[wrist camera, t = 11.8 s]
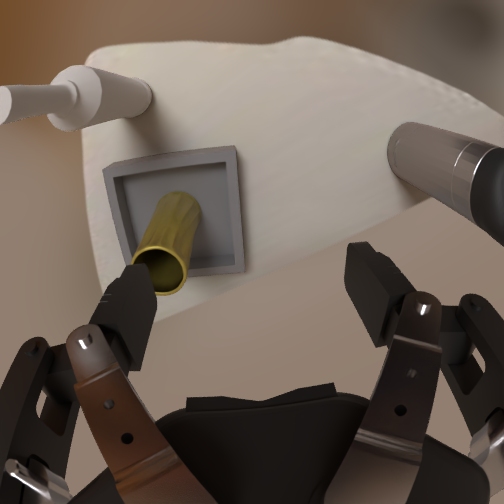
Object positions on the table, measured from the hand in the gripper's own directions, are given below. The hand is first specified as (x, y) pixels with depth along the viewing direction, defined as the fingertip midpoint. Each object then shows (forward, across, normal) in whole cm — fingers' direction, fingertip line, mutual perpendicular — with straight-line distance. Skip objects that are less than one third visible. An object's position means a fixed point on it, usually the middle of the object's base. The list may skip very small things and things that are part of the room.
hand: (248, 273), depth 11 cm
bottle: (+27, +12, -9) cm, 31 cm away
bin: (+27, +8, +7) cm, 29 cm away
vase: (+26, +8, +7) cm, 28 cm away
